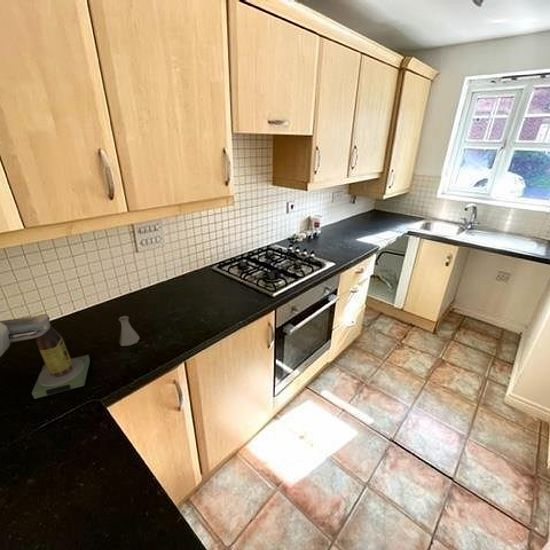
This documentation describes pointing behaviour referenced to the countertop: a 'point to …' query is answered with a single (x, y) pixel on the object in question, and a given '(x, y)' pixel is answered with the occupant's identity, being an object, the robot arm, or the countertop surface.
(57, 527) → the countertop surface
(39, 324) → the robot arm
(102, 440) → the countertop surface
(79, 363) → the scale
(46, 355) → the sauce bottle
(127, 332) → the flask
